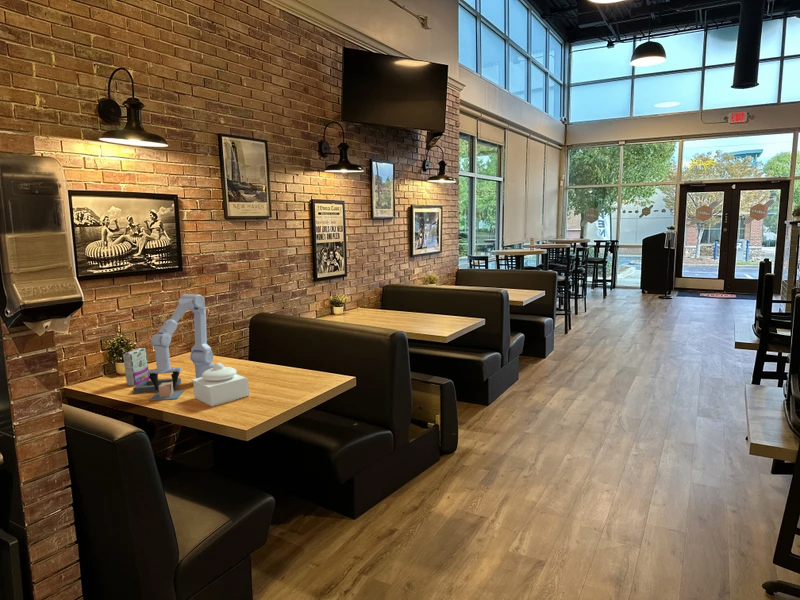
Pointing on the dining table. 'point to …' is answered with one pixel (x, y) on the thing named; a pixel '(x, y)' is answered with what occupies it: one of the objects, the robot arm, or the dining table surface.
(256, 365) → the dining table surface
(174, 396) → the rubber mat
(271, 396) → the dining table surface
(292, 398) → the dining table surface
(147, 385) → the dark grey tray
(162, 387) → the coral block
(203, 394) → the white domed box
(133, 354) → the candy bar box
